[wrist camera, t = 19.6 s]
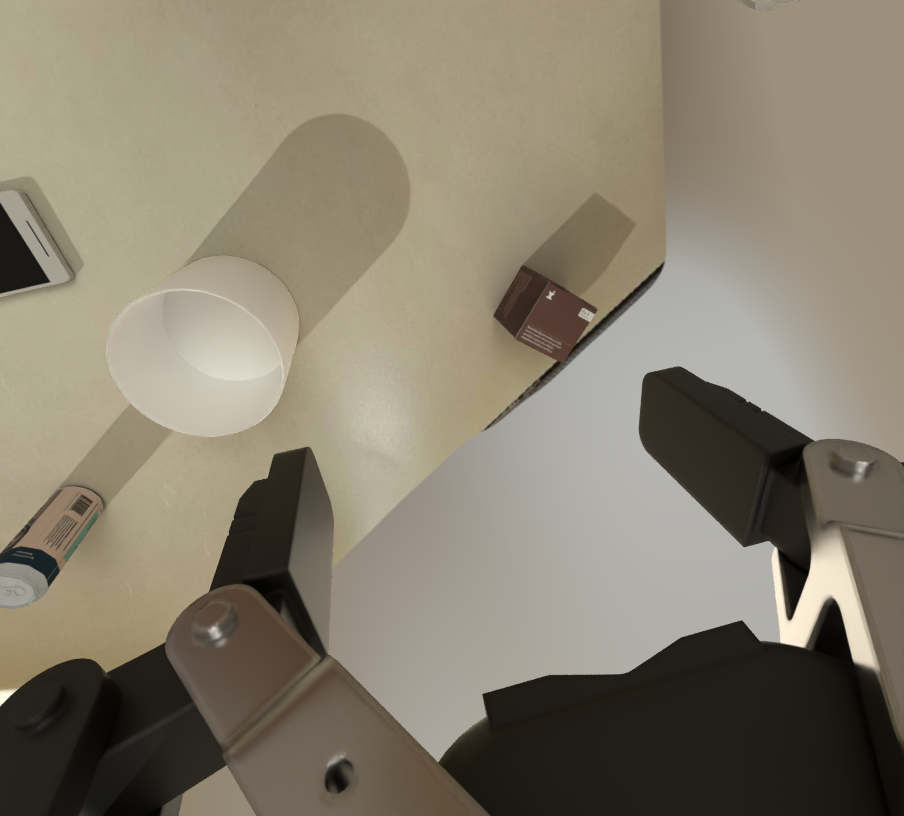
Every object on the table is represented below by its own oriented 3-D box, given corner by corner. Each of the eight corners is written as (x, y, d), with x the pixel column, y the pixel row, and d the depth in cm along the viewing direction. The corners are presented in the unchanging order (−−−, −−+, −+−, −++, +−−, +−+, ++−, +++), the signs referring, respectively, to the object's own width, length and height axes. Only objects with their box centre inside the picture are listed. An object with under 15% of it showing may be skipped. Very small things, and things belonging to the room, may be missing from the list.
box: (491, 315, 48) (512, 338, 42) (521, 263, 46) (549, 279, 40) (536, 339, 50) (563, 364, 44) (567, 290, 49) (600, 310, 42)
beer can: (47, 483, 47) (-38, 573, 37) (100, 483, 48) (33, 570, 38) (58, 519, 49) (-19, 614, 39) (109, 518, 50) (47, 610, 40)
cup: (138, 321, 42) (68, 374, 31) (215, 225, 39) (168, 248, 29) (251, 397, 47) (223, 463, 37) (325, 316, 45) (318, 362, 34)
